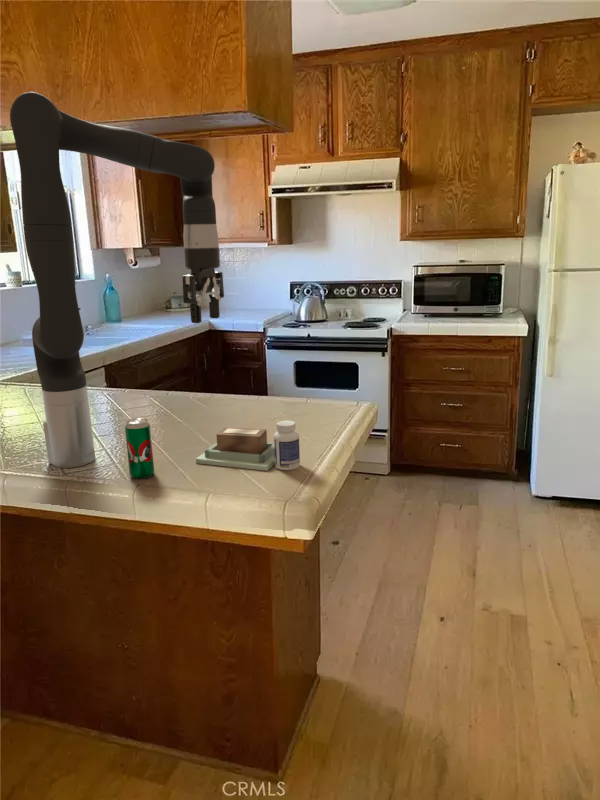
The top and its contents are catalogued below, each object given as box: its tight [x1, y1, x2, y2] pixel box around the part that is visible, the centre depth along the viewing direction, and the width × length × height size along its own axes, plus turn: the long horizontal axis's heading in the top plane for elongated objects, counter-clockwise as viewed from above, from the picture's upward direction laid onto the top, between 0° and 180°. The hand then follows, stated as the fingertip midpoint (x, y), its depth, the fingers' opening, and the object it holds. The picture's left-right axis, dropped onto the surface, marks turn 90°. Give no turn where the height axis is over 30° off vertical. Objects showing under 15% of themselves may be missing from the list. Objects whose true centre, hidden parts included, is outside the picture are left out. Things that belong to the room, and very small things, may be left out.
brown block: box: [216, 427, 268, 455], centre depth 138 cm, size 10×5×5 cm, turn 77°
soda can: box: [124, 417, 155, 480], centre depth 128 cm, size 5×5×12 cm
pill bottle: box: [273, 420, 301, 471], centre depth 131 cm, size 5×5×10 cm
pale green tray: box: [195, 441, 275, 472], centre depth 138 cm, size 17×11×3 cm, turn 70°
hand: (206, 320), depth 139 cm, fingers open, 8 cm apart
